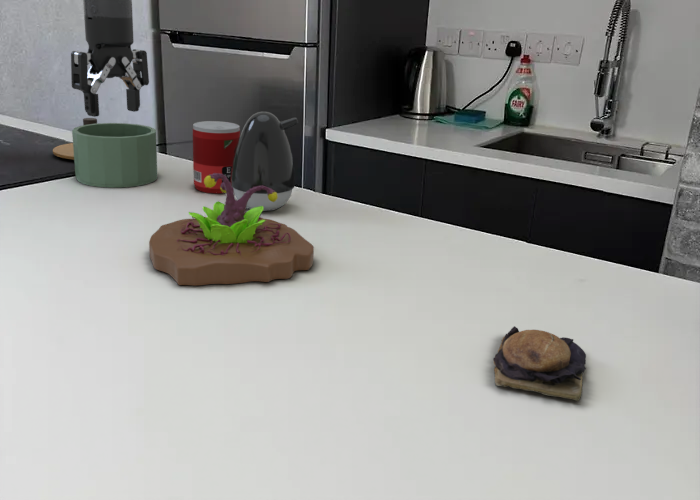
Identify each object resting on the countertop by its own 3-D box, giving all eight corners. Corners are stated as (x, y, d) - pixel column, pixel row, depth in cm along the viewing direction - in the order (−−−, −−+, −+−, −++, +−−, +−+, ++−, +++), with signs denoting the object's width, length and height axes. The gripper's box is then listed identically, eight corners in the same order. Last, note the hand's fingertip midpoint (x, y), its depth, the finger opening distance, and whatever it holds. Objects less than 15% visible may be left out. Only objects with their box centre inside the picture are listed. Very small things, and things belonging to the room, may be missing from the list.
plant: (135, 239, 92) (131, 157, 88) (271, 226, 101) (273, 151, 97) (170, 296, 75) (168, 199, 72) (329, 275, 84) (334, 187, 80)
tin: (89, 190, 112) (85, 139, 109) (67, 172, 122) (63, 124, 119) (168, 183, 120) (167, 134, 117) (141, 166, 130) (139, 121, 127)
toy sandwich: (584, 407, 60) (592, 370, 58) (487, 386, 62) (493, 350, 60) (583, 352, 69) (590, 319, 68) (499, 336, 71) (504, 304, 70)
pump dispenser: (300, 215, 107) (304, 118, 102) (233, 216, 104) (233, 116, 99) (289, 197, 116) (292, 107, 111) (227, 198, 113) (227, 105, 108)
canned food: (231, 196, 115) (231, 130, 111) (186, 191, 116) (184, 126, 112) (245, 185, 122) (246, 123, 118) (203, 180, 123) (202, 119, 119)
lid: (64, 165, 126) (60, 127, 124) (45, 150, 137) (41, 114, 135) (140, 160, 135) (138, 123, 132) (116, 145, 145) (115, 111, 143)
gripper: (126, 13, 119) (130, 106, 125) (55, 11, 108) (63, 114, 113) (157, 16, 116) (160, 112, 121) (87, 14, 104) (94, 120, 110)
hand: (113, 113), depth 117 cm, fingers open, 8 cm apart
